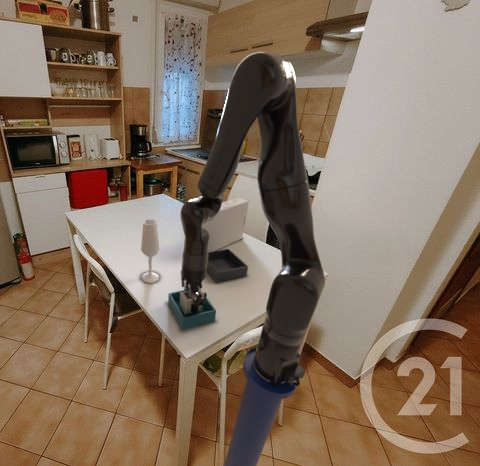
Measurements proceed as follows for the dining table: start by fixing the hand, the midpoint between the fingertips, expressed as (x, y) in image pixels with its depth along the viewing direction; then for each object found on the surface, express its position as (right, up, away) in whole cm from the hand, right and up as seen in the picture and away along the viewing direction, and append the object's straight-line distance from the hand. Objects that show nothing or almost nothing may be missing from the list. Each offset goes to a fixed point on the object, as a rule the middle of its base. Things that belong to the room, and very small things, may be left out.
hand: (190, 305), depth 85 cm
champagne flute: (-14, +6, +18) cm, 23 cm away
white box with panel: (0, -1, 0) cm, 1 cm away
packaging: (+17, +18, +41) cm, 48 cm away
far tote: (+16, +9, +23) cm, 29 cm away
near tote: (0, -2, +1) cm, 3 cm away
